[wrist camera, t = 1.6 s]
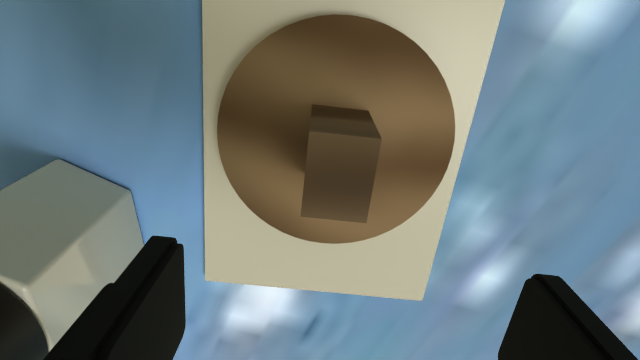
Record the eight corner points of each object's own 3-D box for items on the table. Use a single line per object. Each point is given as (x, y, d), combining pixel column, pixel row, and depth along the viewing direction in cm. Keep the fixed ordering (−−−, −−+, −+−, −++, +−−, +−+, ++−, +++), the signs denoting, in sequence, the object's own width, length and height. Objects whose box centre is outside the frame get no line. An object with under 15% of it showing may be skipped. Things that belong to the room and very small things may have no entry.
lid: (222, -1, 19) (181, -6, 14) (476, 30, 20) (536, 37, 14) (220, 224, 24) (190, 286, 19) (422, 244, 25) (450, 310, 19)
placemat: (205, -60, 19) (201, -62, 18) (505, -21, 19) (511, -22, 19) (207, 274, 27) (205, 280, 26) (420, 294, 27) (422, 300, 27)
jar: (-7, 159, 23) (-303, 290, 12) (126, 156, 23) (-53, 285, 12) (40, 279, 27) (-156, 464, 16) (155, 277, 27) (38, 461, 16)
